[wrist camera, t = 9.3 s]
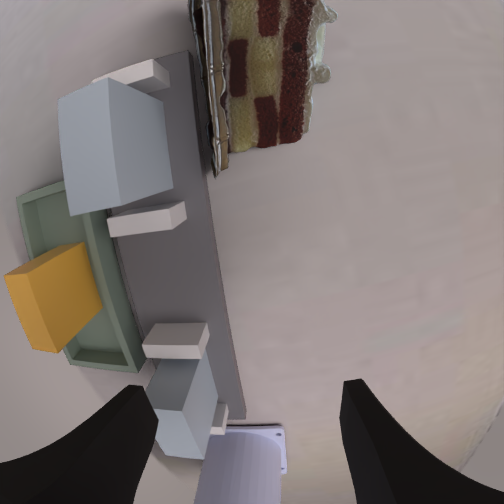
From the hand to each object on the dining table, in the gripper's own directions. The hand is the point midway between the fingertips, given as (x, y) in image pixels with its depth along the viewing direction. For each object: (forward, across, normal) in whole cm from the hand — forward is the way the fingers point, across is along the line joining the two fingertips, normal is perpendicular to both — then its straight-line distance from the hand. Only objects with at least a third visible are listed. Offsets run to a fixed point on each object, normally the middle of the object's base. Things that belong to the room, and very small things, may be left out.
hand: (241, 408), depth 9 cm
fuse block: (+9, +5, -2) cm, 11 cm away
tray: (+9, +12, -2) cm, 16 cm away
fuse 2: (+8, +5, +6) cm, 11 cm away
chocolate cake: (+10, -2, -13) cm, 17 cm away
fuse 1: (+8, +5, -10) cm, 14 cm away
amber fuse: (+9, +12, -2) cm, 16 cm away
